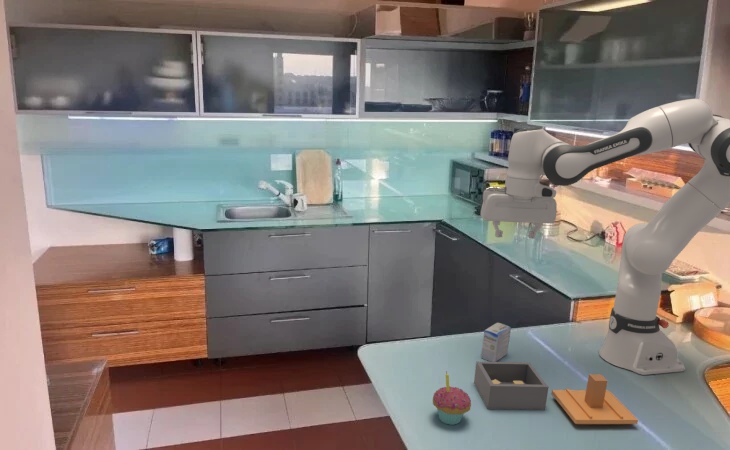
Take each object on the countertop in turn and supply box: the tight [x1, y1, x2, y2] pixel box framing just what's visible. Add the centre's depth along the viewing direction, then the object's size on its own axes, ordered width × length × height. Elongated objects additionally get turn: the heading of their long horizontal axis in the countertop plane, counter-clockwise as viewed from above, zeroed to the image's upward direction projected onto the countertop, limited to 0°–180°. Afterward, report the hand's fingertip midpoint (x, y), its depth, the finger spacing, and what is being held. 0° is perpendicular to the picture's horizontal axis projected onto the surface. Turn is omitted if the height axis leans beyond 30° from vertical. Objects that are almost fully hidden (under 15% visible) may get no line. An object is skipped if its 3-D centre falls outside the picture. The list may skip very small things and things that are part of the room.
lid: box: [551, 373, 639, 425], centre depth 134 cm, size 15×13×10 cm
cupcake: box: [432, 370, 472, 426], centre depth 127 cm, size 9×8×12 cm
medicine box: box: [480, 322, 512, 362], centre depth 160 cm, size 8×4×9 cm, turn 141°
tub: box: [473, 361, 549, 411], centre depth 139 cm, size 14×12×6 cm
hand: (515, 237), depth 156 cm, fingers open, 8 cm apart
